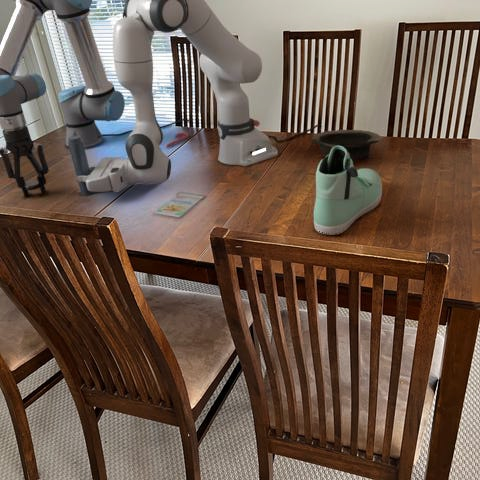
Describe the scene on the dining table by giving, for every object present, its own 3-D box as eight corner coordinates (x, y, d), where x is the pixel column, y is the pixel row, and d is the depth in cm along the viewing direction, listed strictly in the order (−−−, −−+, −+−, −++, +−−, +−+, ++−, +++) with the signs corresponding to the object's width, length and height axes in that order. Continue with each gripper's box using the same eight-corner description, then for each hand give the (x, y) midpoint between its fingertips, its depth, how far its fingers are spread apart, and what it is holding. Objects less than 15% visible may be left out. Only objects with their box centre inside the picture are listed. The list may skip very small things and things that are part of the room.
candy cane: (157, 146, 195) (156, 142, 195) (181, 134, 206) (181, 131, 205) (168, 148, 192) (167, 144, 192) (192, 136, 202) (191, 132, 202)
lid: (26, 185, 163) (25, 181, 162) (42, 183, 164) (41, 179, 163) (23, 191, 159) (22, 187, 158) (39, 189, 159) (38, 185, 158)
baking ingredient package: (153, 211, 144) (180, 191, 155) (154, 213, 144) (180, 193, 156) (178, 216, 140) (203, 195, 152) (178, 217, 141) (204, 197, 152)
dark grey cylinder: (88, 196, 159) (74, 140, 149) (78, 193, 161) (63, 139, 151) (97, 190, 162) (84, 135, 152) (88, 188, 164) (74, 134, 154)
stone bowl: (339, 174, 158) (339, 147, 154) (298, 157, 178) (296, 133, 174) (397, 156, 167) (398, 130, 163) (351, 141, 187) (350, 118, 183)
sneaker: (389, 187, 148) (396, 123, 138) (356, 242, 123) (361, 168, 112) (346, 181, 154) (350, 119, 144) (306, 232, 129) (307, 161, 118)
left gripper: (-19, 134, 146) (5, 202, 158) (41, 127, 148) (61, 195, 160) (-13, 127, 153) (10, 193, 165) (46, 120, 155) (64, 186, 167)
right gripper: (127, 151, 165) (87, 153, 165) (112, 175, 147) (68, 178, 148) (130, 168, 168) (92, 170, 169) (116, 194, 150) (73, 196, 151)
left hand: (35, 194), depth 163 cm, fingers closed on lid, 5 cm apart
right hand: (81, 174), depth 158 cm, fingers closed on dark grey cylinder, 4 cm apart
